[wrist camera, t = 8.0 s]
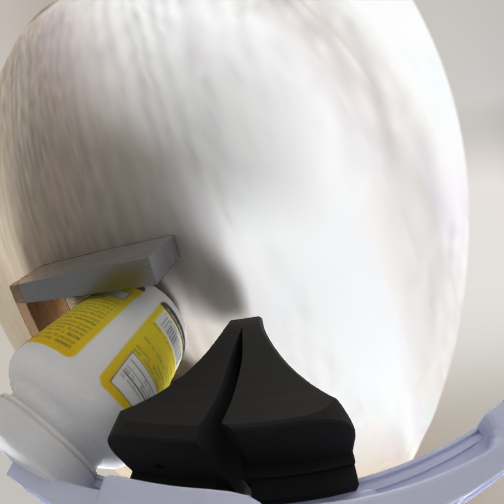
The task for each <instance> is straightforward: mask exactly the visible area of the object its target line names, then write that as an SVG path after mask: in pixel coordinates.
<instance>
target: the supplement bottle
mask: <svg viewBox="0 0 504 504" xmlns="http://www.w3.org/2000/svg"><path fill="white" fill-rule="evenodd" d="M186 345H187V331H186V327H185V323H184V320H183V318H182V316H181V314H180V312H179V310H178V309H177V307H176V306H175V304H174V303H173V302H172V301H171V300H170V299H169V298H168V297H167V296H166V295H165V294H164V293H163V292H162V291H160V290H159V289H157V288H156V287H154V286H153V285H151V286H144V287H138V288H131V289H124V290H117V291H110V292H103V293H96V294H91V295H90V296H89V297H87V298H86V299H85V300H83V301H82V302H80V303H79V304H77V305H76V306H75V307H73V308H72V309H71V310H69V311H68V312H66V313H65V314H64V315H62V316H61V317H59V318H58V319H57V320H55V321H54V322H52V323H51V324H50V325H49V326H47V327H46V328H45V329H43V330H42V331H41V332H39V333H38V334H37V335H35V336H34V337H32V338H31V339H30V340H29V341H27V342H26V343H25V344H24V345H22V346H21V347H20V348H19V349H18V350H17V351H16V352H15V354H14V355H13V357H12V359H11V361H10V365H9V378H10V384H11V387H12V391H13V394H11V395H9V394H5V393H4V394H1V395H0V451H1V452H2V453H3V454H4V455H5V456H6V457H7V458H8V459H9V460H10V461H11V462H12V463H13V462H15V463H16V464H17V465H19V466H20V467H22V468H23V469H25V470H27V471H29V472H30V473H32V474H34V475H37V476H39V477H41V478H44V479H46V480H49V481H51V482H55V481H56V480H60V481H64V482H68V483H71V484H75V485H79V486H84V487H88V488H93V484H94V483H95V479H94V477H96V476H97V475H98V474H97V472H96V471H95V470H96V468H103V469H116V468H120V467H123V466H125V464H124V463H123V462H122V461H121V460H120V459H119V458H118V457H117V456H116V455H115V454H114V453H113V451H112V450H111V449H110V447H109V445H108V442H107V440H108V436H109V434H110V432H111V430H112V428H113V425H114V423H115V421H116V419H117V417H118V415H119V413H120V411H121V410H124V409H127V408H129V407H131V406H134V405H136V404H138V403H140V402H143V401H145V400H147V399H149V398H150V397H152V396H154V395H156V394H157V393H159V392H161V391H162V390H164V389H166V388H167V387H168V386H169V384H170V383H171V380H172V378H173V376H174V374H175V372H176V370H177V368H178V366H179V364H180V361H181V360H182V357H183V355H184V352H185V349H186Z"/></svg>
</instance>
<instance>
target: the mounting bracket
mask: <svg viewBox="0 0 504 504" xmlns="http://www.w3.org/2000/svg"><path fill="white" fill-rule="evenodd" d="M179 257H180V256H179V253H178V249H177V245H176V241H175V238H174V235H171V236H166V237H162V238H157V239H152V240H148V241H143V242H139V243H134V244H130V245H125V246H121V247H117V248H112V249H108V250H104V251H100V252H95V253H91V254H87V255H83V256H79V257H75V258H71V259H67V260H63V261H59V262H55V263H51V264H48V265H44V266H41V267H39V268H38V269H36V270H34V271H33V272H31V273H29V274H28V275H26V276H25V277H23V278H21V279H20V280H18V281H17V282H15V283H14V284H12V285H11V286H9V287H10V289H11V292H12V294H13V297H14V299H15V302H16V304H17V306H18V309H19V311H20V313H21V315H22V318H23V320H24V322H25V324H26V326H27V328H28V330H29V332H30V334H31V336H32V337H34V336H35V335H37V334H38V333H39V332H41V331H42V330H43V329H45V328H46V327H47V326H49V325H50V324H51V323H52V322H54V321H55V320H57V319H58V318H59V317H61V316H62V315H64V314H65V313H66V312H68V311H69V308H68V305H67V303H66V301H65V298H67V297H75V296H82V295H89V294H96V293H103V292H110V291H117V290H124V289H131V288H138V287H144V286H151V285H157V284H158V283H159V282H160V280H161V279H162V278H163V276H164V275H165V274H166V273H167V271H168V270H169V269H170V268H171V266H172V265H173V264H174V263H175V261H176V260H177V259H178V258H179ZM173 383H174V382H171V383H170V384H169V386H170V385H171V384H173Z"/></svg>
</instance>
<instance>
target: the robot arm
mask: <svg viewBox="0 0 504 504" xmlns="http://www.w3.org/2000/svg"><path fill="white" fill-rule="evenodd" d="M354 441H355V429H354V426H353V424H352V422H351V420H350V418H349V416H348V414H347V413H346V411H345V410H344V408H343V407H342V405H341V404H340V403H339V401H338V400H337V399H336V398H334V397H332V396H330V395H328V394H326V393H324V392H323V391H321V390H319V389H318V388H316V387H315V386H313V385H312V384H310V383H309V382H308V381H306V380H305V379H304V378H303V377H302V376H300V375H299V374H298V373H297V372H295V371H294V370H293V369H292V368H291V367H290V366H289V365H288V364H287V362H286V361H285V360H284V359H283V358H282V357H281V355H280V354H279V353H278V352H277V350H276V349H275V347H274V346H273V344H272V343H271V341H270V339H269V338H268V336H267V334H266V332H265V330H264V326H263V321H262V318H261V317H259V316H258V317H251V318H245V319H238V320H231V321H230V322H229V323H228V325H227V326H226V328H225V329H224V330H223V332H222V333H221V335H220V336H219V337H218V339H217V340H216V341H215V343H214V344H213V345H212V347H211V348H210V349H209V350H208V351H207V353H206V354H205V355H204V356H203V357H202V358H201V359H200V360H199V361H198V362H197V363H196V364H195V365H194V366H193V367H192V368H191V369H190V370H189V371H188V372H187V373H186V374H184V375H183V376H182V377H181V378H179V379H178V380H177V381H175V382H174V383H173V384H171V385H170V386H168V387H167V388H166V389H164V390H162V391H161V392H159V393H157V394H156V395H154V396H152V397H150V398H149V399H147V400H145V401H143V402H140V403H138V404H136V405H134V406H131V407H129V408H127V409H124V410H121V411H120V413H119V415H118V417H117V419H116V421H115V423H114V425H113V428H112V430H111V432H110V434H109V436H108V440H107V442H108V445H109V447H110V449H111V450H112V451H113V453H114V454H115V455H116V456H117V457H118V458H119V459H120V460H121V461H122V462H123V463H124V464H125V465H127V466H128V467H129V468H130V469H131V470H132V474H131V477H130V478H126V477H120V476H113V475H110V476H106V477H104V476H101V475H97V476H96V477H94V479H95V483H94V484H93V488H88V487H84V486H79V485H75V484H71V483H68V482H64V481H60V480H56V481H55V482H51V481H49V480H46V479H44V478H41V477H39V476H37V475H34V474H32V473H30V472H29V471H27V470H25V469H23V468H22V467H20V466H19V465H17V464H16V463H15V462H13V463H12V465H11V467H10V469H9V470H8V472H7V475H8V476H9V477H10V478H11V479H13V480H14V481H15V482H16V483H17V484H18V485H20V486H21V487H22V488H24V489H25V490H26V491H27V492H29V493H30V494H32V495H33V496H34V497H36V498H37V499H38V500H40V501H41V502H43V503H44V504H464V503H465V502H467V501H468V500H470V499H472V498H473V497H475V496H476V495H478V494H479V493H480V492H482V491H483V490H485V489H486V488H488V487H489V486H490V485H492V484H493V483H494V482H496V481H497V480H498V479H499V478H501V477H502V476H503V475H504V400H503V401H501V402H500V403H499V404H497V405H496V406H494V407H493V408H491V409H490V410H489V411H488V412H487V413H486V414H485V415H484V416H483V417H482V418H481V420H480V421H479V423H478V425H477V427H476V428H474V429H472V430H471V431H469V432H467V433H466V434H464V435H462V436H460V437H459V438H457V439H455V440H453V441H451V442H450V443H448V444H446V445H444V446H442V447H440V448H438V449H436V450H434V451H431V452H429V453H427V454H425V455H423V456H421V457H418V458H416V459H413V460H411V461H408V462H406V463H403V464H401V465H398V466H396V467H393V468H390V469H387V470H384V471H381V472H378V473H375V474H372V475H368V476H365V477H362V478H358V477H357V473H356V469H355V465H354V464H355V458H354V454H353V447H354Z"/></svg>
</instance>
